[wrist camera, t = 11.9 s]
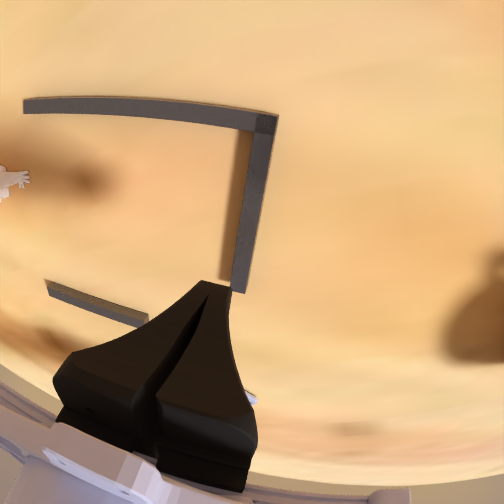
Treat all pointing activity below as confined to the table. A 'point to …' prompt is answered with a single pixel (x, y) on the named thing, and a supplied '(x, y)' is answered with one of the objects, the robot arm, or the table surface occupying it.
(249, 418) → the robot arm
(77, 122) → the table surface
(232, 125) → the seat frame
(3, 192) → the white figurine
